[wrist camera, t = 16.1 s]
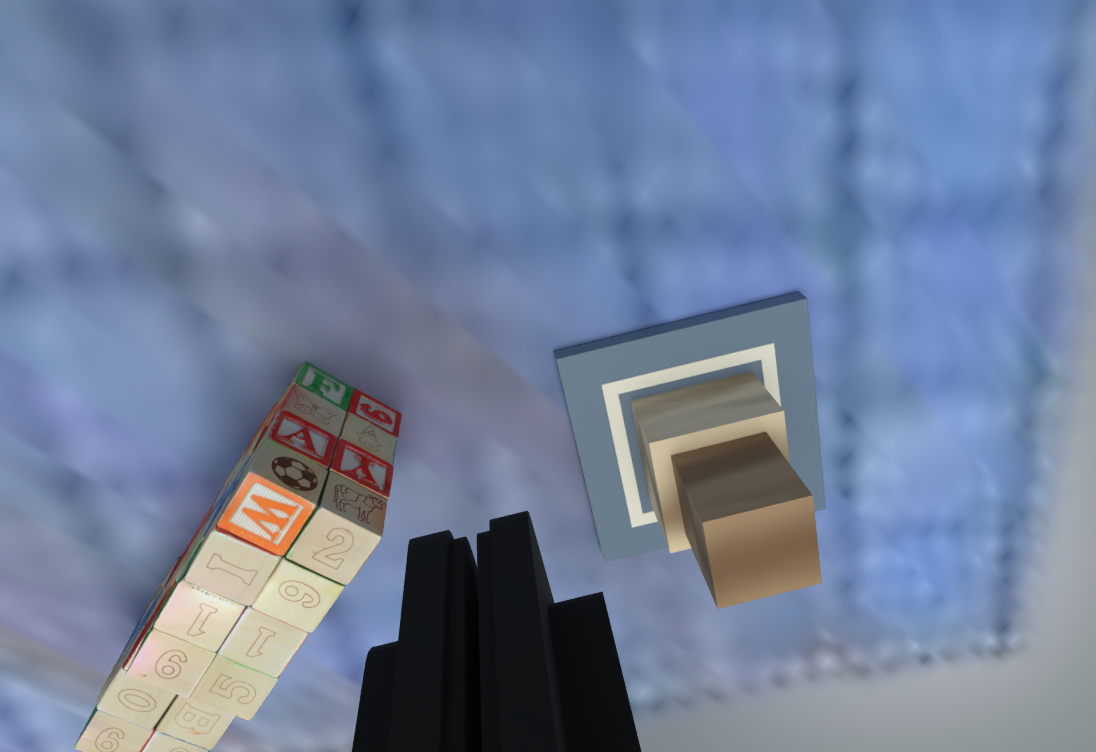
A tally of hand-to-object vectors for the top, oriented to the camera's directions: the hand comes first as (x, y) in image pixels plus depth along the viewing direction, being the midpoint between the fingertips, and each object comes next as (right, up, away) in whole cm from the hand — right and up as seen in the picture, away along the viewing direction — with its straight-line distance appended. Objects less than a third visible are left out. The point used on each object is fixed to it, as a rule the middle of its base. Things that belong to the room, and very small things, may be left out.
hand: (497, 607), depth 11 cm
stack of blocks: (-16, -5, +36) cm, 40 cm away
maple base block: (+9, 0, +35) cm, 36 cm away
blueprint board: (+9, 0, +36) cm, 37 cm away
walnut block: (+10, -2, +31) cm, 32 cm away
